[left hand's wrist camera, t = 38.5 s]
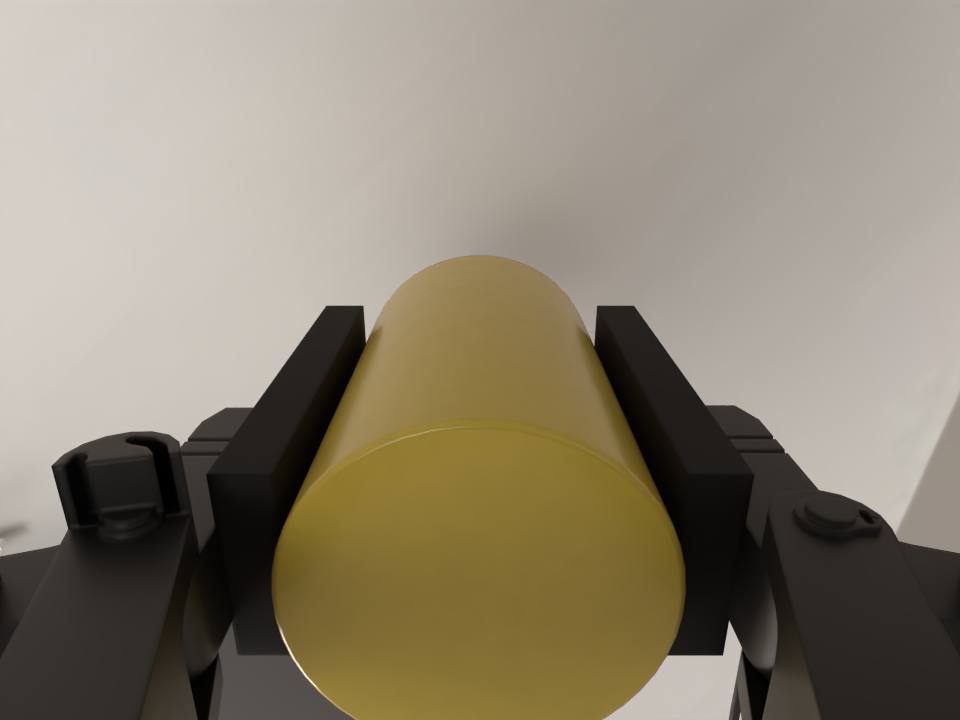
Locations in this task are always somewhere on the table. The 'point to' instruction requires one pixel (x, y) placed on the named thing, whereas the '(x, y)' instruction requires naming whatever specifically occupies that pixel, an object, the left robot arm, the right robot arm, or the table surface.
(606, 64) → the table surface
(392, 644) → the tin
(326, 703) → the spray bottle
